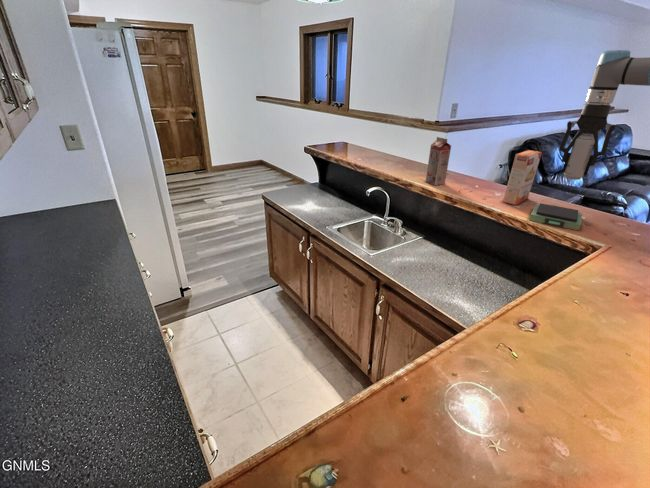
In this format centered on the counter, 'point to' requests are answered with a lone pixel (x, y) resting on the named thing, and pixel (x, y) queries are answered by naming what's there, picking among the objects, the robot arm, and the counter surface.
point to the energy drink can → (579, 157)
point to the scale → (556, 220)
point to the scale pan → (557, 212)
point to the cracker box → (521, 176)
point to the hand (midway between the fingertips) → (574, 172)
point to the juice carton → (438, 162)
